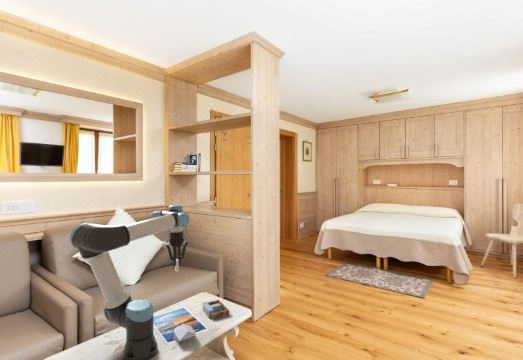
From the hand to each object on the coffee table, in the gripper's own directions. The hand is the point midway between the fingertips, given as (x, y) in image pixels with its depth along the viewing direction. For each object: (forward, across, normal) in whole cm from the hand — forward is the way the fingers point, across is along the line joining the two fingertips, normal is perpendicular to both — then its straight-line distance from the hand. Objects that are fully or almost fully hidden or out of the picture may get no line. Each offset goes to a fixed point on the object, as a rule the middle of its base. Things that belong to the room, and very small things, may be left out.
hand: (176, 270), depth 169 cm
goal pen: (+26, +21, -8) cm, 35 cm away
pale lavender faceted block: (+27, -3, -26) cm, 37 cm away
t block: (+26, +19, -8) cm, 34 cm away
